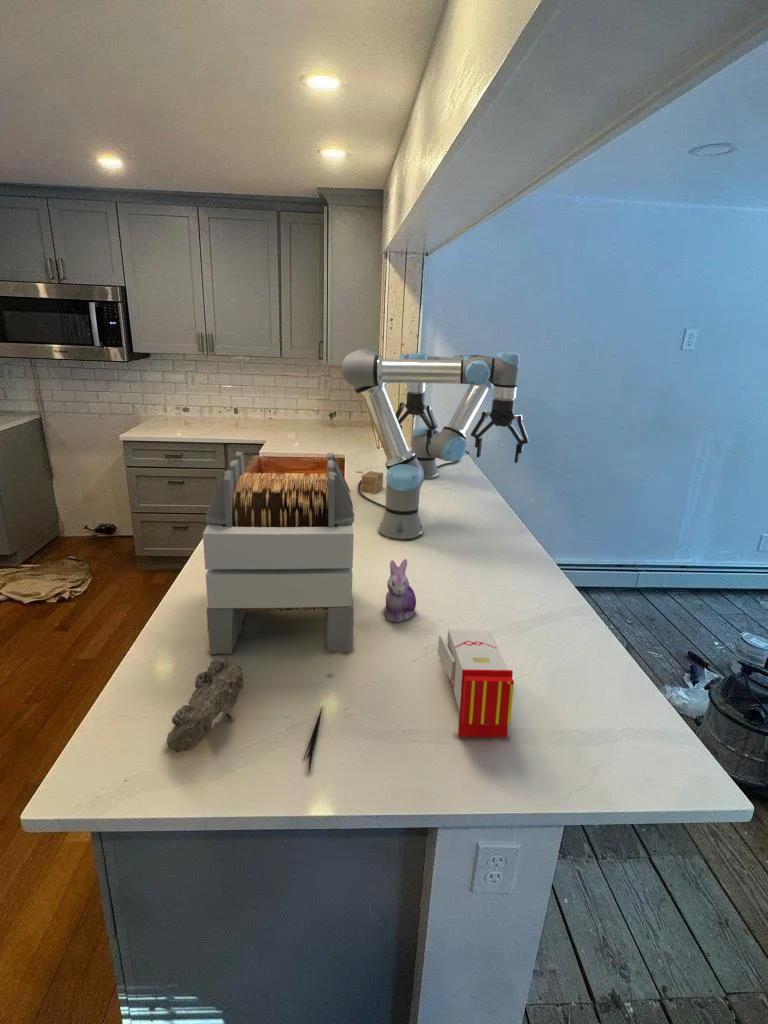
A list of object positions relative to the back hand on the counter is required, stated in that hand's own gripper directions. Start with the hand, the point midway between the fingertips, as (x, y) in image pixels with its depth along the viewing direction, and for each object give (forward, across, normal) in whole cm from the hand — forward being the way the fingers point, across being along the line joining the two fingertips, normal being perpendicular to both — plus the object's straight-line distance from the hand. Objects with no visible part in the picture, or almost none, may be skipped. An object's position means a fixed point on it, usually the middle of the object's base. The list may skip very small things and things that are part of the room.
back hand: (413, 442), depth 241 cm
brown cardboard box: (+21, +15, +10) cm, 27 cm away
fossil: (+18, -28, +152) cm, 156 cm away
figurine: (+20, -42, +99) cm, 109 cm away
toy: (+19, -69, +120) cm, 140 cm away
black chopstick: (+18, -46, +143) cm, 151 cm away
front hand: (-5, -43, +24) cm, 50 cm away
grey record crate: (+19, -18, +115) cm, 118 cm away
